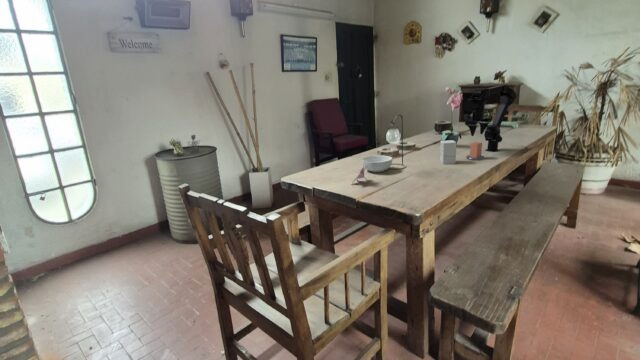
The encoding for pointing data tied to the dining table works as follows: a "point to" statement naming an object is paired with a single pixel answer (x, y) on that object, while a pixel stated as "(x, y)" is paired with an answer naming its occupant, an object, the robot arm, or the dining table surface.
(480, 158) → the charcoal dinner plate
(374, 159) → the cereal bowl
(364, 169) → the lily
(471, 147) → the upright salmon prism
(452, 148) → the supplement box
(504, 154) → the dining table surface
